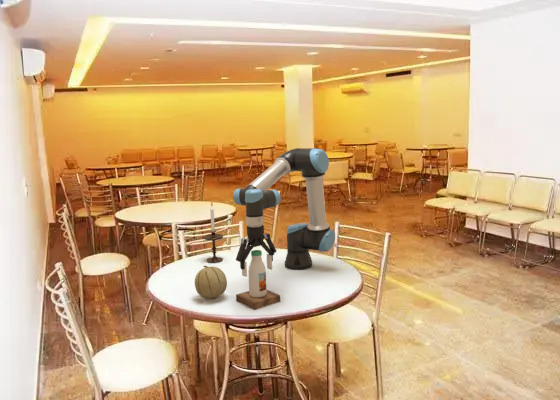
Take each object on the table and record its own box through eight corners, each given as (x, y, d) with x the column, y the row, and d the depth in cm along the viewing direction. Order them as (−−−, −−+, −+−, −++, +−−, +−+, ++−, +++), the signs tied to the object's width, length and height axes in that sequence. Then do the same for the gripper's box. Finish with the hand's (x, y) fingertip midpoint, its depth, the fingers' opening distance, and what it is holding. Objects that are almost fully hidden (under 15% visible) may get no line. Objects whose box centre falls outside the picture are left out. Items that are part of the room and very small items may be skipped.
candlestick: (208, 257, 289) (204, 199, 283) (226, 258, 287) (223, 198, 281) (202, 263, 278) (199, 202, 272) (221, 263, 277) (218, 202, 271)
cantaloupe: (222, 304, 216) (220, 271, 213) (190, 303, 219) (188, 270, 216) (231, 292, 230) (230, 261, 228) (201, 291, 233) (199, 261, 230)
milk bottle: (253, 299, 213) (251, 254, 210) (246, 293, 220) (244, 250, 216) (269, 295, 216) (268, 251, 213) (262, 290, 223) (260, 247, 220)
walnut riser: (261, 293, 228) (261, 287, 228) (280, 301, 217) (280, 295, 217) (236, 301, 220) (235, 294, 219) (254, 310, 209) (254, 303, 208)
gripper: (236, 231, 202) (238, 281, 206) (283, 221, 217) (284, 267, 221) (226, 228, 208) (228, 277, 212) (272, 219, 223) (274, 264, 227)
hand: (257, 272), depth 217 cm, fingers open, 13 cm apart
